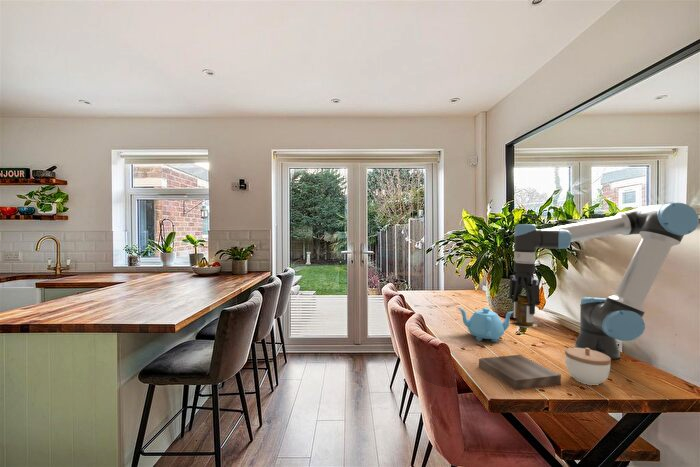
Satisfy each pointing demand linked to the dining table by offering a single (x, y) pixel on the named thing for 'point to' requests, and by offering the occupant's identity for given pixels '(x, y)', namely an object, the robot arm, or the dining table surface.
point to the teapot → (486, 324)
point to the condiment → (522, 312)
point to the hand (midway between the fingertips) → (523, 319)
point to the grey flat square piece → (519, 372)
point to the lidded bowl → (587, 365)
